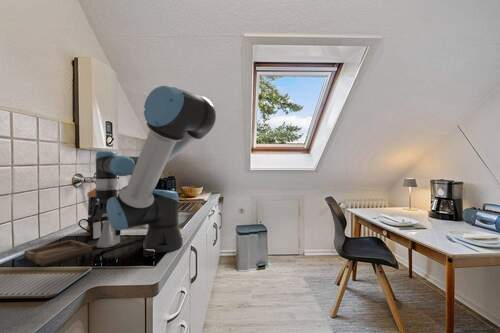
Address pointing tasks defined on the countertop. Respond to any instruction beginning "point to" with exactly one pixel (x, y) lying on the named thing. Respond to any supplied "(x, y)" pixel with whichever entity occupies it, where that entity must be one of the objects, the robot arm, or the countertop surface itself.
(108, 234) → the flask
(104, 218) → the coffee mug
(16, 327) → the countertop surface
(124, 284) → the countertop surface
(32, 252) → the walnut tray
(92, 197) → the whiskey bottle
